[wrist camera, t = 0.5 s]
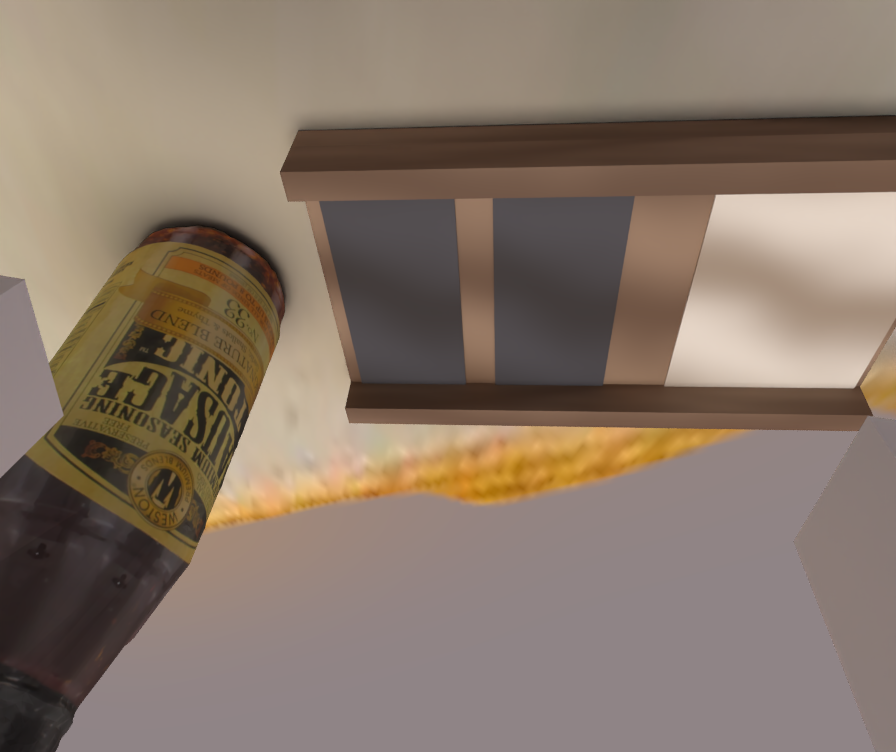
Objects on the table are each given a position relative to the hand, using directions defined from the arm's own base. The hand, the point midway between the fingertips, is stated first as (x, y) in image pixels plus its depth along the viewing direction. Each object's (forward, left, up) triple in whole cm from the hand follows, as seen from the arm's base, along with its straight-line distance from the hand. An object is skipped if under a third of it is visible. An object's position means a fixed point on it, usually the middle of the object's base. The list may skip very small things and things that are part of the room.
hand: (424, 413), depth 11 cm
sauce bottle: (+8, -10, -13) cm, 19 cm away
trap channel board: (+8, +5, -13) cm, 16 cm away
